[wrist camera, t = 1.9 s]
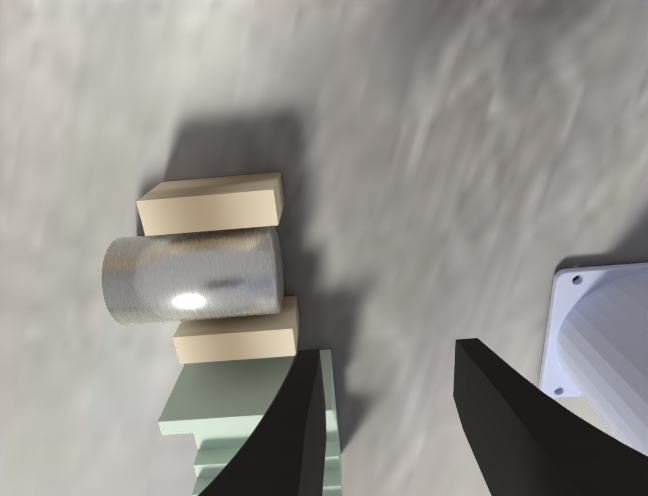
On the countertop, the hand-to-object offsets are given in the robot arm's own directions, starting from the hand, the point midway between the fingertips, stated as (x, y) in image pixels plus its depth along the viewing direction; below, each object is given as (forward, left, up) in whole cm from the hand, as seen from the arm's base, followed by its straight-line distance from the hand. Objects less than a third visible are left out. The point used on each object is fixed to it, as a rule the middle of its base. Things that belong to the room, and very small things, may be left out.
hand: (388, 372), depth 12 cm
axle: (+7, 0, -10) cm, 12 cm away
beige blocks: (+6, 0, -9) cm, 11 cm away
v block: (+6, +10, -9) cm, 15 cm away
